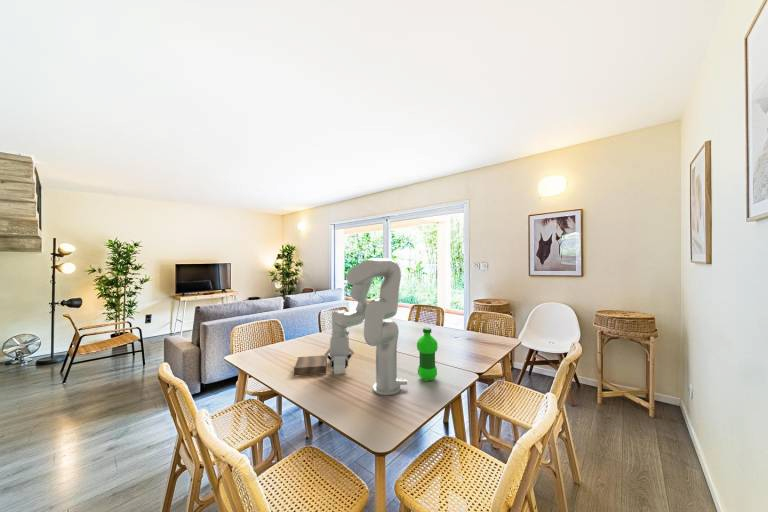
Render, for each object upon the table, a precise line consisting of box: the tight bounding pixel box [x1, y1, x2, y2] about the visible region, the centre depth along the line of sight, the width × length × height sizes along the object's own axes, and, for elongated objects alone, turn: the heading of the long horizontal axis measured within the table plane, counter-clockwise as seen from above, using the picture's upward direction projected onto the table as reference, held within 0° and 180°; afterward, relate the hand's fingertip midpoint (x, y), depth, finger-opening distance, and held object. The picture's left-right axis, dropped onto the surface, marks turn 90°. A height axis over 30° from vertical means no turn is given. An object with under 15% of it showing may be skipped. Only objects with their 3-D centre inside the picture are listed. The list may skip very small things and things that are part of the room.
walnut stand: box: [293, 354, 328, 376], centre depth 153 cm, size 16×16×4 cm
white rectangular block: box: [333, 356, 346, 375], centre depth 149 cm, size 6×6×9 cm
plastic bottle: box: [416, 327, 438, 382], centre depth 140 cm, size 10×10×25 cm
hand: (339, 367), depth 149 cm, fingers closed on white rectangular block, 6 cm apart
